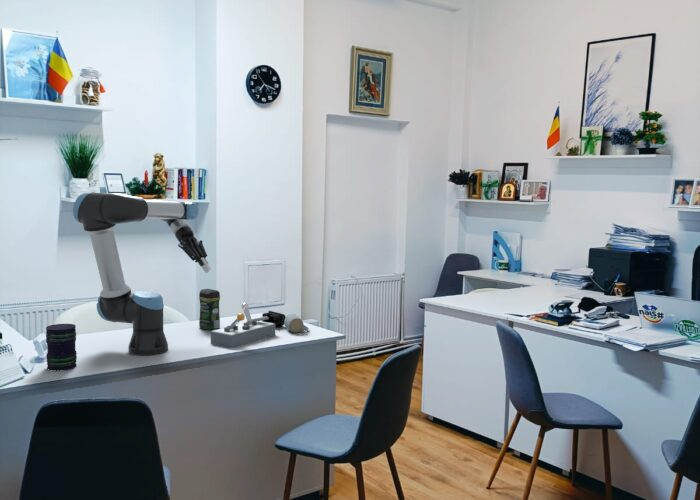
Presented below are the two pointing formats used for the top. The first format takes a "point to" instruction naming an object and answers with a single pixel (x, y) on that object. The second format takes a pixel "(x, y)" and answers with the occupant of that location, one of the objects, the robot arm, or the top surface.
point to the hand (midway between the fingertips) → (208, 270)
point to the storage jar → (61, 346)
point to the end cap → (274, 318)
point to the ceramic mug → (294, 323)
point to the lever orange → (236, 321)
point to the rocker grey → (261, 318)
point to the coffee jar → (209, 309)
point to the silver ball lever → (247, 313)
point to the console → (242, 334)
